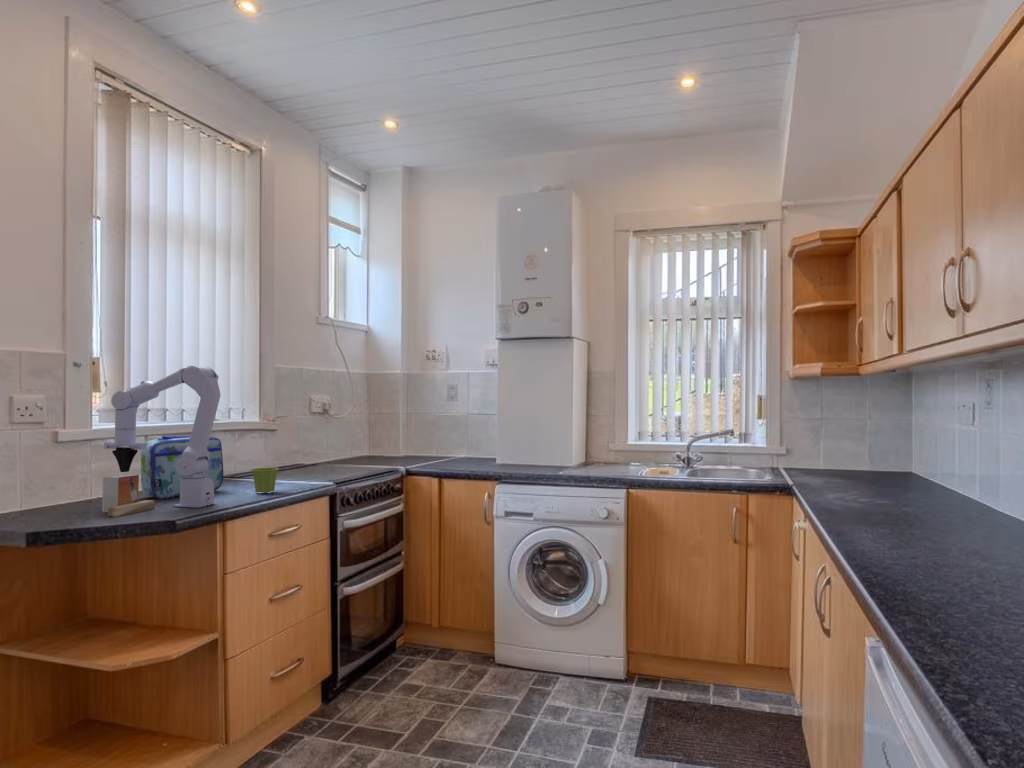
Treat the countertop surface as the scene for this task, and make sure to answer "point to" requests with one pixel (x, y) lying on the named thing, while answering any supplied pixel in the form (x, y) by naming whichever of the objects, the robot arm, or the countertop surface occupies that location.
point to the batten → (130, 508)
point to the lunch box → (174, 465)
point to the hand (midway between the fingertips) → (124, 471)
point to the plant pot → (264, 479)
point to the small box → (119, 490)
